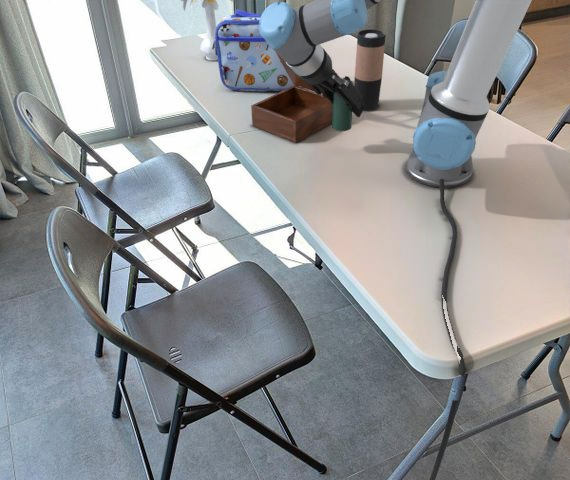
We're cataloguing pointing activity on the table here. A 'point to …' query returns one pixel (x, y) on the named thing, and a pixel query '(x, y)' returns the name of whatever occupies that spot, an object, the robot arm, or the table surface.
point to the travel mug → (369, 66)
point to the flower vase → (207, 43)
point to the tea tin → (341, 114)
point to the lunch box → (247, 55)
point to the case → (292, 113)
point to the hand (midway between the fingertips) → (351, 109)
